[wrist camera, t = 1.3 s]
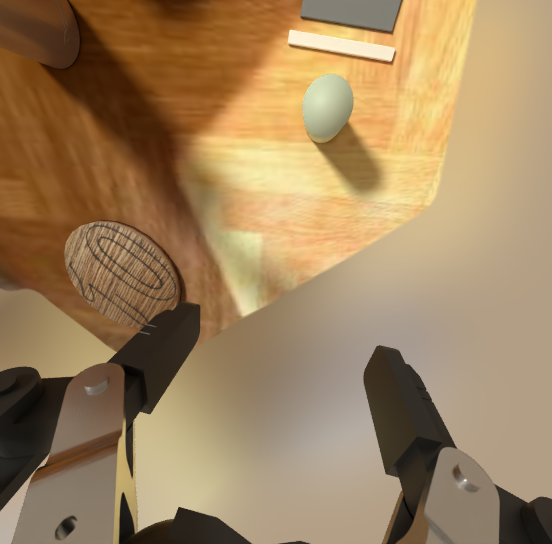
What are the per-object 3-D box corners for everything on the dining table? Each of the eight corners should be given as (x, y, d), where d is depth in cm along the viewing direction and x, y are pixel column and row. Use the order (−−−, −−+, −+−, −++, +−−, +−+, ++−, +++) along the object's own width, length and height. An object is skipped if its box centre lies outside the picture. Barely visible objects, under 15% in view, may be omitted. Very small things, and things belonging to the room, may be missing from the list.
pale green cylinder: (301, 139, 32) (297, 130, 24) (309, 97, 30) (309, 69, 21) (335, 146, 32) (344, 139, 23) (346, 104, 30) (360, 79, 21)
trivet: (154, 339, 56) (149, 344, 54) (61, 278, 52) (52, 282, 50) (202, 275, 46) (198, 279, 44) (91, 191, 41) (82, 193, 39)
